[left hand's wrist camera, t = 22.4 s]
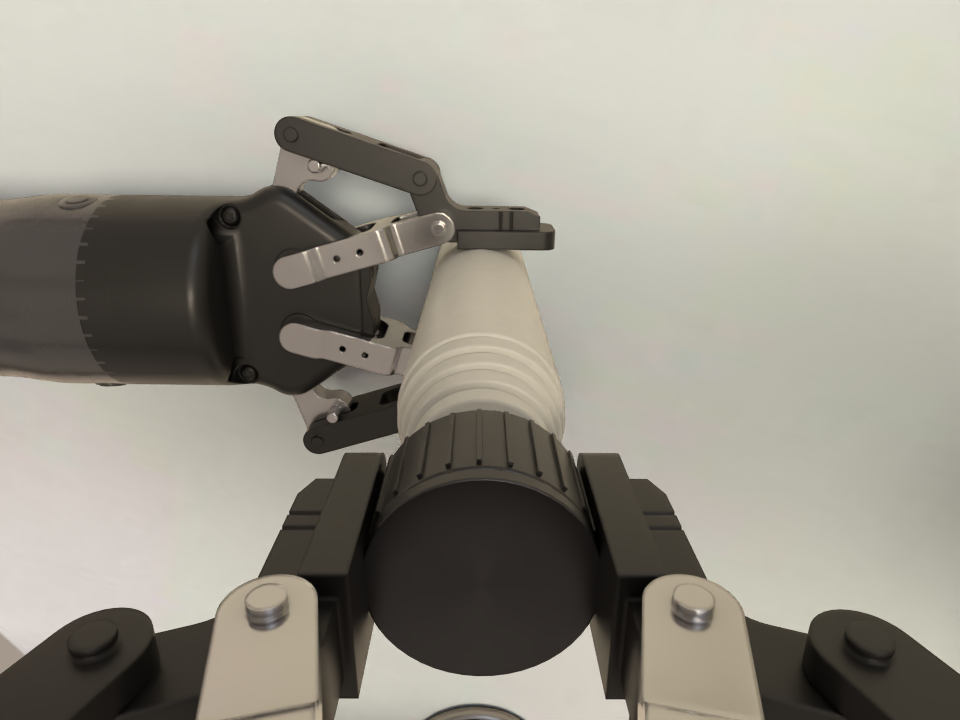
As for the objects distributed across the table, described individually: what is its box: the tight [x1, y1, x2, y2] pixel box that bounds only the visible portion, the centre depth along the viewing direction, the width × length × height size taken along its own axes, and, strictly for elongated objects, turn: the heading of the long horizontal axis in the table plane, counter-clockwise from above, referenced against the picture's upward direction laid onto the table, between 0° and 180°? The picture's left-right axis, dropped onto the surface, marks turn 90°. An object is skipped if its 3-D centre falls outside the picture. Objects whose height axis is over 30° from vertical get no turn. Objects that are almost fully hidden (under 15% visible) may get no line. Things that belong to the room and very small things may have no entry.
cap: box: [364, 409, 600, 676], centre depth 11 cm, size 4×4×2 cm
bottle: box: [397, 242, 565, 444], centre depth 22 cm, size 4×4×24 cm
